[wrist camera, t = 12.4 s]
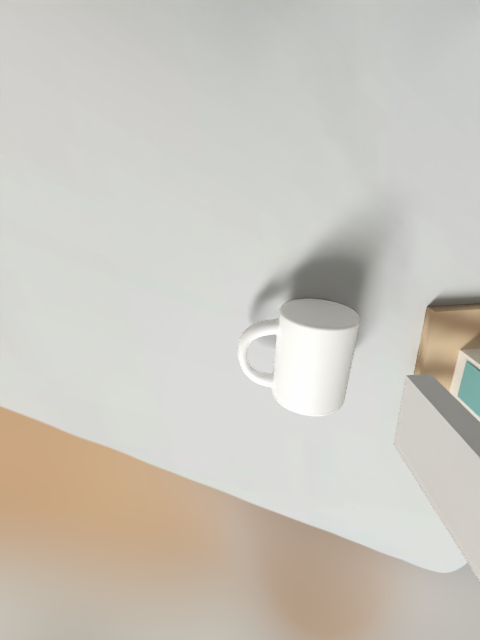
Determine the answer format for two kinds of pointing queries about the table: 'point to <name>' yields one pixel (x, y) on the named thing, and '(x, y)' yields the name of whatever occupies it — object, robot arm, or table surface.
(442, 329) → the shelf board
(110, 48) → the table surface
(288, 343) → the mug
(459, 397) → the carton
